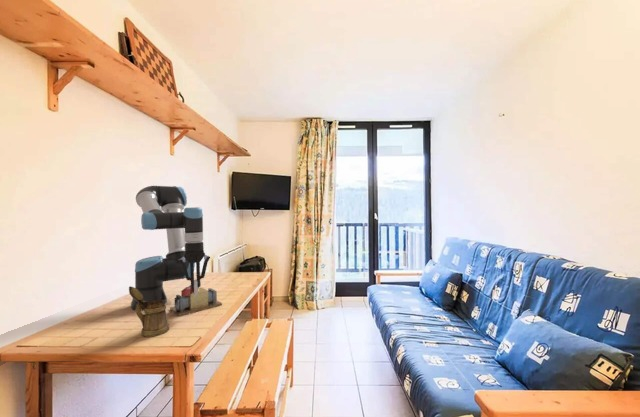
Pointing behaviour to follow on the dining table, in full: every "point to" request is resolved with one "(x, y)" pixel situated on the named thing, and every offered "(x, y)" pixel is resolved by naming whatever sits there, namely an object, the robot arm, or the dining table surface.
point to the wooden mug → (150, 314)
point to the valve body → (195, 302)
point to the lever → (188, 291)
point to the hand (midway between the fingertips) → (195, 294)
